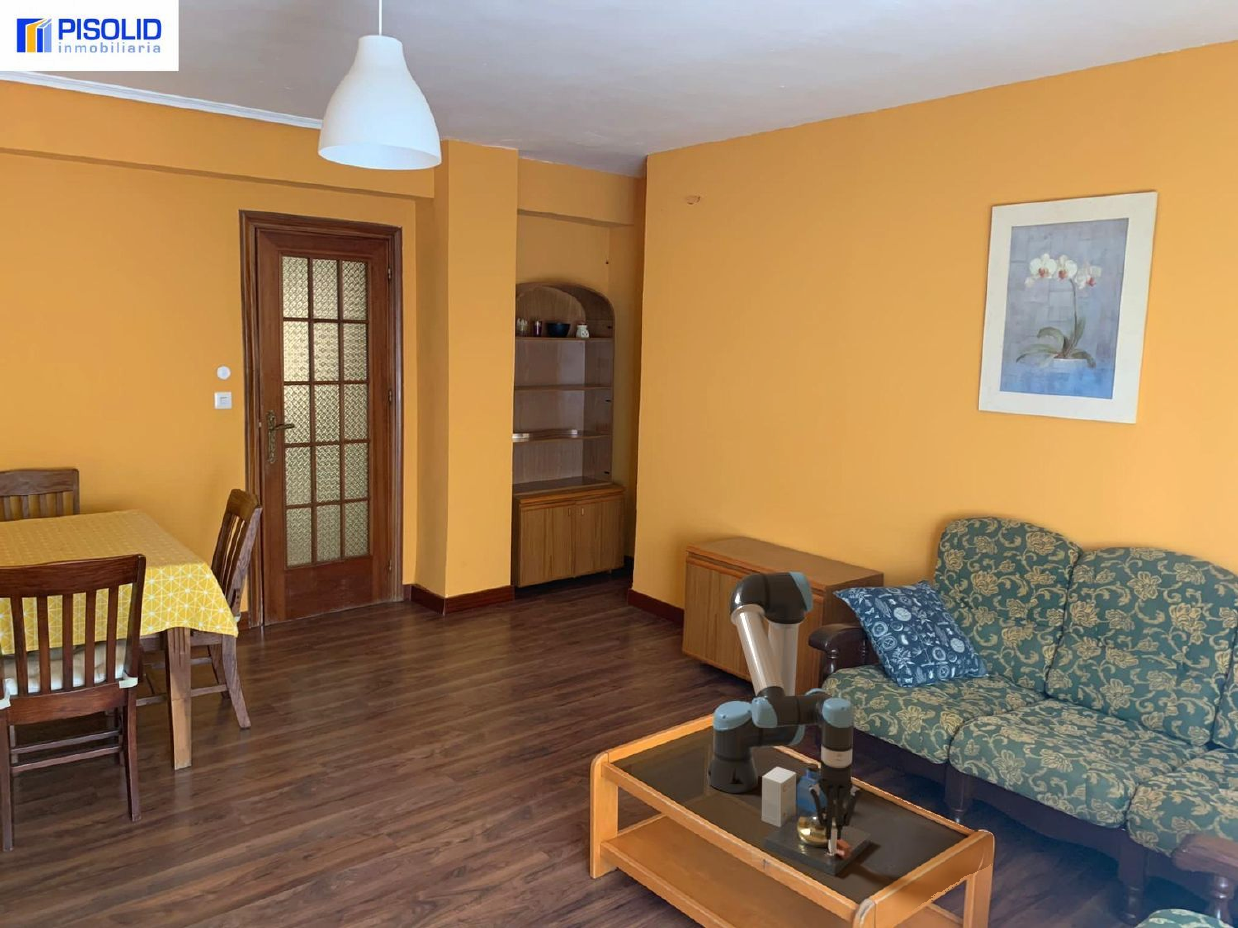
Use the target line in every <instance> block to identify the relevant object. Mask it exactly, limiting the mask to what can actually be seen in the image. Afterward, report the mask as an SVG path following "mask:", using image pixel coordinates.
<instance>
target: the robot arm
mask: <svg viewBox="0 0 1238 928" xmlns="http://www.w3.org/2000/svg"><path fill="white" fill-rule="evenodd" d="M812 591H813V590H812V587H811V584H810V581H809V579H808V578H807V576H806V574H804V573H802V572H799V571H798V572H796V571H794V572H792V571H787V572H766V573H759V572H757V573H751V574H748V575H746V576H744V577H743V578H741V579H740V580H739V581H738V582H737V583H736V584H735V586H734V587H733V589H732V590H731V593H730V597H729V601H728V612H729V616H730V621H731V622H732V624H733V625H735V626H736V628H737V632H738V635H739V639H740V642H741V643H740V644H741V646H742V650H743V653H744V657H745V660H746V664H747V668H748V672H749V674H750V678H751V682H752V685H753V690H754V693H755V696H756V697H754V698H753V699H752V701H751V703H750V702H747V701H741V700H734V701H728V702H725V703H722V704H720V705H719V706H718V707H717V708H716V709H715V711H714V714H713V721H712V727H713V739H712V740H713V741H712V742H713V745H712V749H713V750H712V751H713V752H712V754H713V755H712V757H711V760H710V763H709V766H708V769H707V772H706V780H707V779H708V781H709V783H710V784H711V785H713V786H714V787H715V788H717V789H719V790H718V791H720V790H723V791H722V792H724V791H725V793H731V794H732V793H733V794H735V793H737V794H739V793H740V794H741V793H746V792H747V793H748V792H749V791H751V790H752V791H753V789H755V788H757V786H758V783H759V774H758V772H757V768H756V764H755V761H754V757H753V749H759V748H774V747H775V748H776V747H784V748H785V747H789V746H796V745H797V744H799V743H800V742H801V741H802V739H803V737H804V735H805V730H806V726H812V725H814V726H815V725H816V726H818V727H819V728H820V729H821V747H820V748H821V749H820V750H821V751H820V769H819V775H820V779H819V780H818V784H816V785H815V786H809V790H810V793H811V795H812V796H813V798H814V803H815V807H816V812H817V816H818V820H819V823H820V825H821V826H825V836H826V839H827V840H829V850H830V853H831V854H836V846H837V840H840V839H841V830H842V829H843V828H842V827H843V826H850V823H851V820H852V817H853V814H854V810H855V807H856V804H857V801H858V799H859V798H860V797H861V795H862V790H861V789H860V787H859V786H856V785H854V783H853V782H852V769H853V768H852V767H853V766H852V762H853V745H854V744H853V740H854V725H855V709H854V708H855V707H854V705H853V703H852V702H851V701H850V700H846V699H845V698H840V697H833V696H832V695H831V694H830V693H828V692H827V691H826V690H824V689H822V688H818V687H817V688H812V689H810V690H809V691H807V692H805V694H799V695H795V692H796V691H795V689H796V677H797V676H796V674H797V660H798V644H799V643H798V642H799V640H798V639H799V627H800V625H801V624H802V623H804V621H805V615H806V614H808V613H810V612H812V610H813V608H814V596H813V592H812ZM764 619H765V620H766V621H767V622H768V631H767V629H766V628H767V627H766V625H765V622H764ZM709 783H708V784H709ZM715 788H714V789H715ZM717 789H716V790H717ZM820 789H821V790H822V792H823V793H824V794H825V796H826V806H825V813H823V808H821V804H820V799H819V797H818V795H819V793H820V792H819V790H820ZM849 792H850V793H849ZM848 793H849V796H848V799H847V804H846V806H845V810H844V808H843V807H844V804H845V803H844V801H845V797H846V796H847V795H848ZM834 799H835V815H834V817H835V819H834V821H835V824H832V820H833V809H834ZM843 812H844V813H843ZM823 814H825V819H824V818H823Z"/></svg>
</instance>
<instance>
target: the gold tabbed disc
mask: <svg viewBox="0 0 1238 928" xmlns="http://www.w3.org/2000/svg"><path fill="white" fill-rule="evenodd" d="M823 815H825V813H823ZM834 821H835V820H834ZM834 821H832V824H835V822H834ZM797 836H798V838H799V839H800V840H801V841H802V842H804V843H806V844H808V845H811V846H816V847H829V840H827V839H826V836H825V829H822V830H818V829H815V828H813V827H812V816H811V817H800V818H799V821H798V823H797ZM836 853H837V854H838V855H839V856H840V857H842V858H843V859H848V858H851V846H850V845H848V844H847V843H846V842H845V841H843V840H842V839H840V840H837V846H836Z"/></svg>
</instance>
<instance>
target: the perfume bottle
mask: <svg viewBox="0 0 1238 928" xmlns="http://www.w3.org/2000/svg"><path fill="white" fill-rule="evenodd" d="M819 779H820V769H819V765H818V764H817V763H814V762H810V763H807V765H806V774H805V775H803V776H802V777H801V778H800V780H799V782H798V783H796V807H798V808H800V809H802V810H807V811H810V812H813V813H817V812H816V807H815V803H814V798H813V796H812V795H811V793H810V790H809V786H815V785H816V784H818V780H819ZM819 792H820V793H819V795H818V797H819V799H820V804H821V808H822V809H824V808H826V796H825V794H824V793H823V792H822V790H821V789H820V790H819Z"/></svg>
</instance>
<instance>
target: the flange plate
mask: <svg viewBox="0 0 1238 928" xmlns="http://www.w3.org/2000/svg"><path fill="white" fill-rule="evenodd" d="M811 816H812V827H813V828H815V829H818V830H822V829H825V826H821V825H820V823H819V820H818V816H817V813H813V812H811V811H808V810H806V809H802V810H801V811H799V812H798V813H797V814H795V816H794V817H793V818H792V819H790V820H789V821H788V822H786V823H785V824H784V825H782V826H781V827H777V829H776V830H775V831H773V832H772V833H770V834H769V835H768V836H767V837H765V838H764V848H765V849H767V850H769V851H773V852H774V853H777V854H780V855H782V856H784V857H787V858H789V859H792V860H794V861H796V862H799V863H801V864H804V865H805V866H809V867H811V868H813V869H815V870H818V871H820V872H822V873H825V874H828V875H830V876H833V877H835V876H837V874H839V873H840V872H841V871H842V870H843V869H845V867H846V866H848V864H849V863H851V862H852V861H853V860H854V859H855V858H856V857H858V856H859V855H860V854H861V853H862V852H863V851H864V850H865V849H867V847H868V846H870V845H871V844H872V834H871V833H869V832H866V831H863V830H861V829H858V828H855V827H853V826H850V825H849V826H843V827H842V828H843V829H842V830H841V839H842V840H843V841H845V842H846V843H847V844H848V845H850V846H851V858H848V859H843V858H842V857H840V856H839V855H838V854H837V853H836V854H831V853H830V850H829V847H816V846H811V845H808V844H806V843H804V842H802V841H801V840H800V839H799V838H798V836H797V823H798V821H799V818H800V817H811ZM823 818H824V819H825V815H823ZM832 821H834V822H835V819H832Z"/></svg>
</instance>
